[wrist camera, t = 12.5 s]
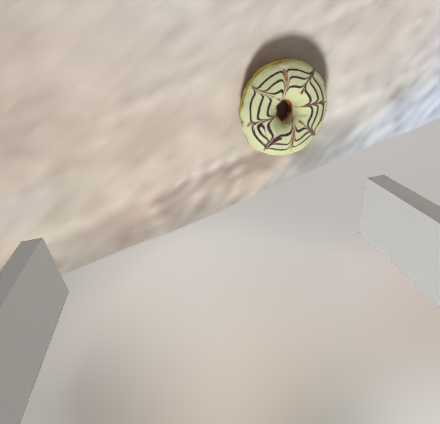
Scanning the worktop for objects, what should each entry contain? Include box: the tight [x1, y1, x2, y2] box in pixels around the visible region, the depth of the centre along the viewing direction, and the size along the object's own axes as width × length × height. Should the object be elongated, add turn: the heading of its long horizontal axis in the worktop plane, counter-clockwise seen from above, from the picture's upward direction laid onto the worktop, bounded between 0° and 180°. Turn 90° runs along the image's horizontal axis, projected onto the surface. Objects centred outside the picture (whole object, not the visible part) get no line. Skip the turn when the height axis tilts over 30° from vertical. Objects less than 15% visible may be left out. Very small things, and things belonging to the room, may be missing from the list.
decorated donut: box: [239, 59, 327, 155], centre depth 36 cm, size 10×11×4 cm
